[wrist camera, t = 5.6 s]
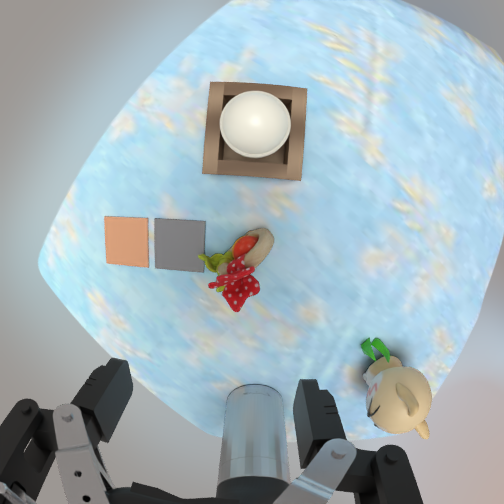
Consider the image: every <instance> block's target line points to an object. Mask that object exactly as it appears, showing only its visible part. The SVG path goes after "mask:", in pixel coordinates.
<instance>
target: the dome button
mask: <svg viewBox="0 0 504 504" xmlns="http://www.w3.org/2000/svg"><path fill="white" fill-rule="evenodd" d="M290 128H291V120H290V115H289V112H288V110H287V108H286V107H285V105H284V104H283V103H282V102H281V101H280V100H279V99H278V98H277V97H275V96H273V95H272V94H269V93H267V92H263V91H248V92H244V93H241V94H239V95H237V96H235V97H234V98H232V99H231V100H230V101H229V102H228V103H227V104H226V106H225V107H224V109H223V111H222V114H221V117H220V130H221V134H222V136H223V139H224V140H225V142H226V143H227V144H228V146H229V147H230V148H231V149H232V150H233V151H235V152H236V153H238V154H240V155H242V156H244V157H248V158H263V157H266V156H269V155H271V154H273V153H275V152H276V151H277V150H278V149H279V148H280V147H281V146H282V145H283V144H284V143H285V141H286V140H287V138H288V135H289V133H290Z"/></svg>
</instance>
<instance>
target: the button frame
mask: <svg viewBox="0 0 504 504" xmlns="http://www.w3.org/2000/svg"><path fill="white" fill-rule="evenodd" d="M248 91H263V92H267V93H269V94H272V95H273V96H275V97H277V98H278V99H279V100H280V101H281V102H282V103H283V104H284V105H285V107H286V108H287V110H288V112H289V115H290V120H291V128H290V133H289V135H288V138H287V140H286V141H285V143H284V144H283V145H282V146H281V147H280V148H279V149H278V150H277V151H276V152H275V153H273V154H271V155H269V156H266V157H263V158H248V157H244V156H242V155H240V154H238V153H236V152H235V151H233V150H232V149H231V148H230V147H229V146H228V144H227V143H226V142H225V140H224V139H223V136H222V134H221V130H220V117H221V114H222V111H223V109H224V107H225V106H226V104H227V103H228V102H229V101H230V100H231V99H232V98H234V97H235V96H237V95H239V94H241V93H244V92H248ZM306 103H307V89H306V88H298V87H290V86H281V85H271V84H258V83H240V82H210V89H209V98H208V108H207V119H206V130H205V142H204V155H203V170H202V174H220V175H238V176H253V177H266V178H277V179H288V180H298V181H301V175H302V163H303V150H304V136H305V121H306Z"/></svg>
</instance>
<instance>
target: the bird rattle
mask: <svg viewBox="0 0 504 504" xmlns="http://www.w3.org/2000/svg"><path fill="white" fill-rule="evenodd" d="M273 243H274V237H273V235H272V233H271V232H270V231H269V230H268V229H265V228H260V229H256V230H254V231H248V232H247V233H246V234H245V235H244V236H242V237H240V238H239V239H237V240H236V242H235V243H234V245H233V246H232V247H231V248H230V249H229V250H228V251H227V252H226V253H225V254H224V255H223V254H214V255H213V256H212V257H208V256H206V255H205V254H200V255H198V258H199V259H201V260H203V261H205V265H206V267H207V268H208V269H209V270H210V271H212V272H217V273H218V276H217V278H216V279H217V280H216V282H211V283H209V284H208V286H209V288H211V289H212V288H217V287H218V288H217V289H216V291H217V292H221V291H223V292H222V296H224V298H225V299H226V300H227V302H228V304H229V305H230V307H231V308H232V310H233V311H235V312H239V311H240V309H241V307H242V306H243V304H244V302H245V300H246V299H247V298H248V297H250V296H254V295H256V294H258V293H259V291H260V286H259V282H258V281H257V280H256V279H255V278H254V277H253V276H252V275H250V274H251V273H253V272H254V271H255V268H256V267H257V266H258V265H259V264H260V263H261V262H262V261H263V260H264V259H265V257H266V256H267V255H268V253H269V252H270V250H271V248H272V246H273Z"/></svg>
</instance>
